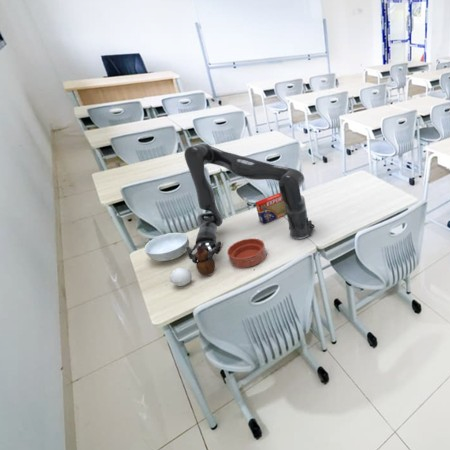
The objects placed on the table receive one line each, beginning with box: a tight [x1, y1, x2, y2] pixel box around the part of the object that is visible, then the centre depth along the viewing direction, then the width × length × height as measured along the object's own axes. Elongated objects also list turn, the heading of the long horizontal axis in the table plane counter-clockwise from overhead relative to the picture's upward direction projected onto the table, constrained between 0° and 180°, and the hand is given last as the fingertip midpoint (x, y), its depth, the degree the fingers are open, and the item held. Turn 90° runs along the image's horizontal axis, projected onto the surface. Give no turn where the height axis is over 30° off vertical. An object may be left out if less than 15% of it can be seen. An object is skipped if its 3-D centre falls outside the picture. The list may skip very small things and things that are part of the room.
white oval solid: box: [165, 267, 193, 287], centre depth 140 cm, size 10×7×7 cm
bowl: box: [226, 238, 267, 268], centre depth 156 cm, size 15×15×6 cm
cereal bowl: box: [144, 232, 190, 262], centre depth 157 cm, size 17×17×7 cm
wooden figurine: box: [195, 245, 216, 276], centre depth 145 cm, size 7×6×15 cm
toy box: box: [254, 192, 287, 225], centre depth 185 cm, size 18×4×12 cm, turn 138°
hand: (202, 260), depth 142 cm, fingers closed on wooden figurine, 4 cm apart
